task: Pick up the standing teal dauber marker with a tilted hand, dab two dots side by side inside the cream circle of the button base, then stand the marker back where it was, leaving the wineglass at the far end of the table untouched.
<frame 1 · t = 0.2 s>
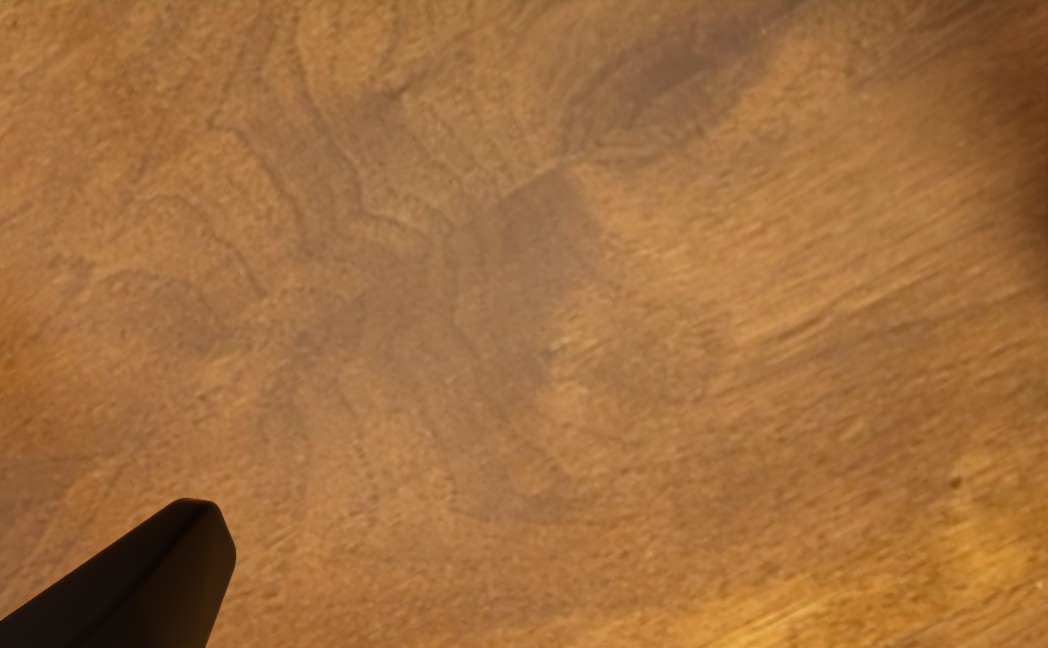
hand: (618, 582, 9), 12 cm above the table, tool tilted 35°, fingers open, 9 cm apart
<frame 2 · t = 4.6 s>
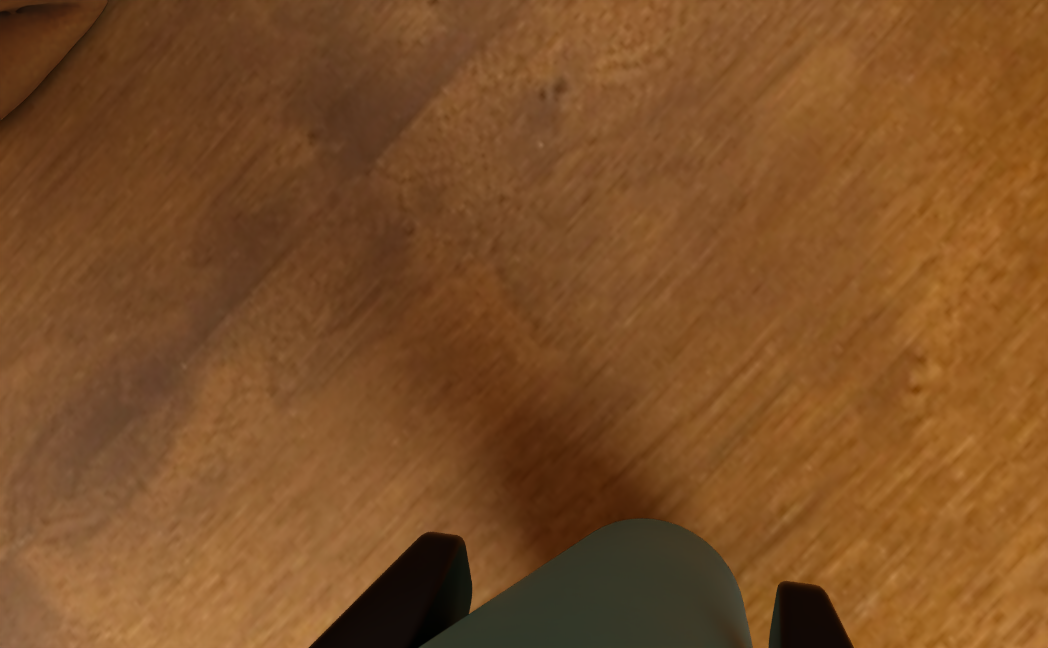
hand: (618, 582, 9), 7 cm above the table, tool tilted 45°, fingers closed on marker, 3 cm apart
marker: (650, 605, 16), on the table, touching gripper
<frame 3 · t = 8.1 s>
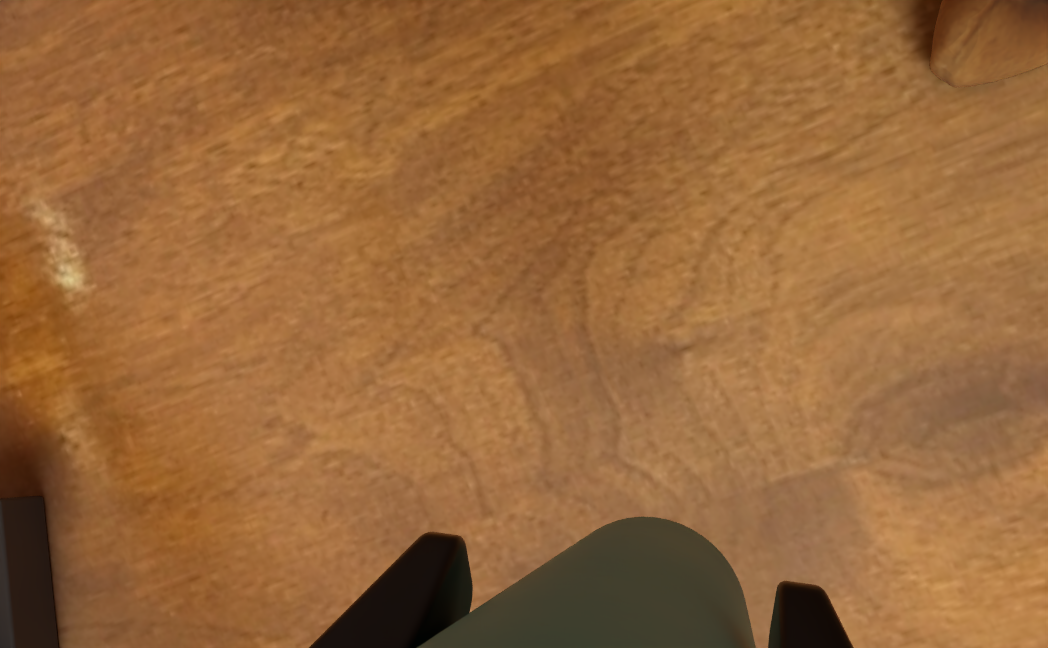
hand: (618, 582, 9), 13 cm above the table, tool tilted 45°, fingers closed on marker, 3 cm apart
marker: (652, 603, 16), point 5 cm above the table, touching gripper
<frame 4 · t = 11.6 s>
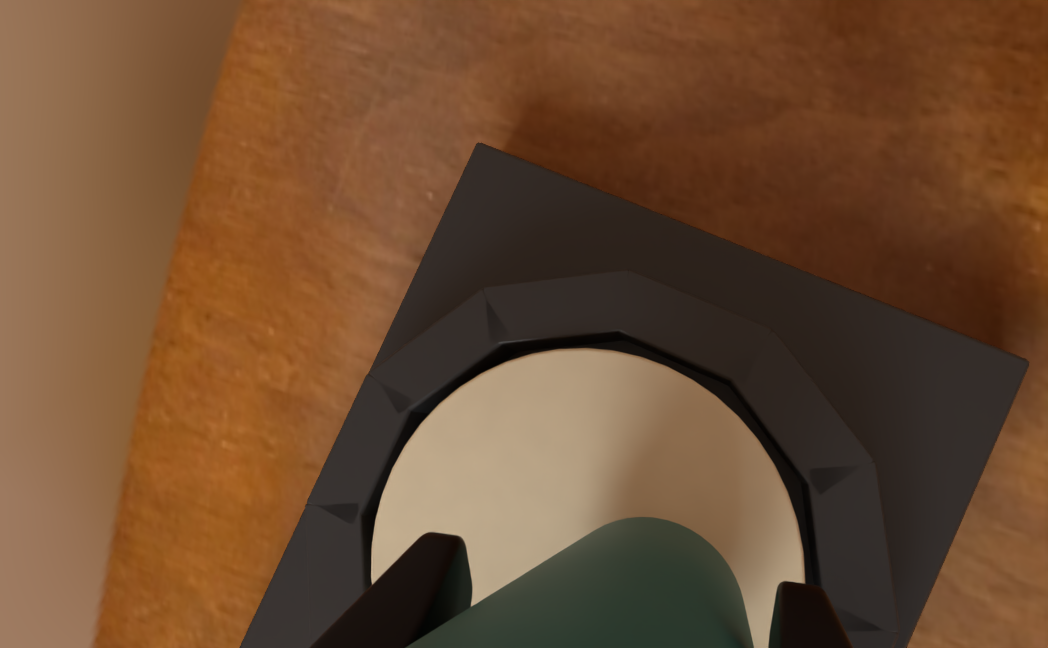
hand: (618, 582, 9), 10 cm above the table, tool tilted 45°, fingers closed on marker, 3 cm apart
button base: (599, 546, 19), on the table
pad disc: (581, 561, 17), point 3 cm above the table, slide at -0.5 cm, touching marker
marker: (650, 604, 16), point 3 cm above the table, touching gripper, pad disc
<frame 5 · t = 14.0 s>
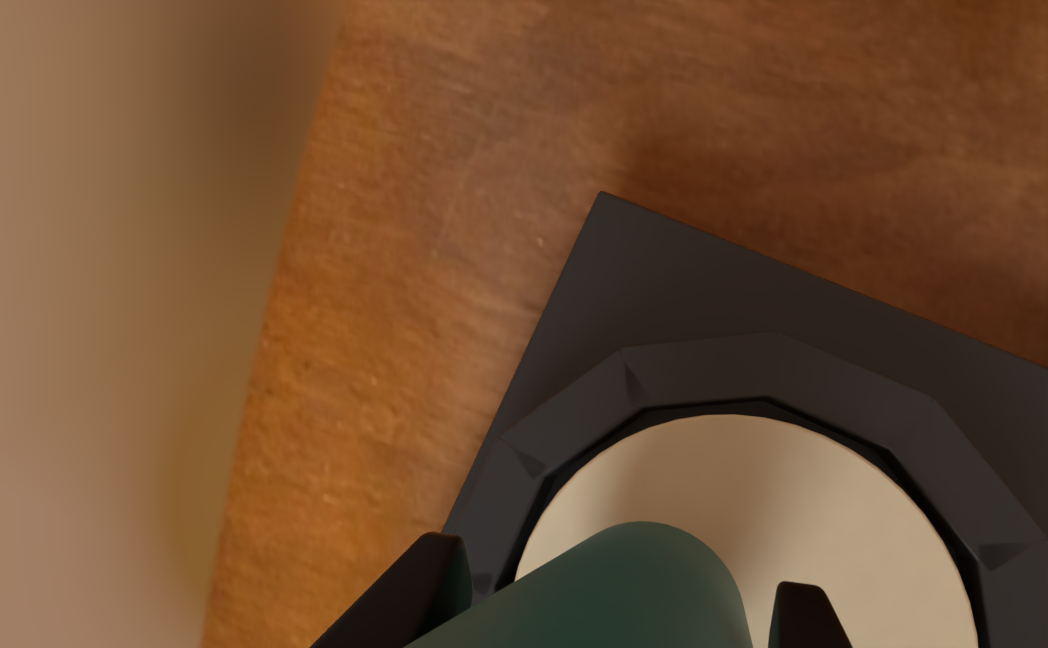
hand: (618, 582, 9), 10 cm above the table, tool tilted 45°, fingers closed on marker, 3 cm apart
button base: (727, 611, 19), on the table
pad disc: (730, 637, 16), point 3 cm above the table, slide at -0.5 cm, touching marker
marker: (650, 608, 16), point 3 cm above the table, touching gripper, pad disc
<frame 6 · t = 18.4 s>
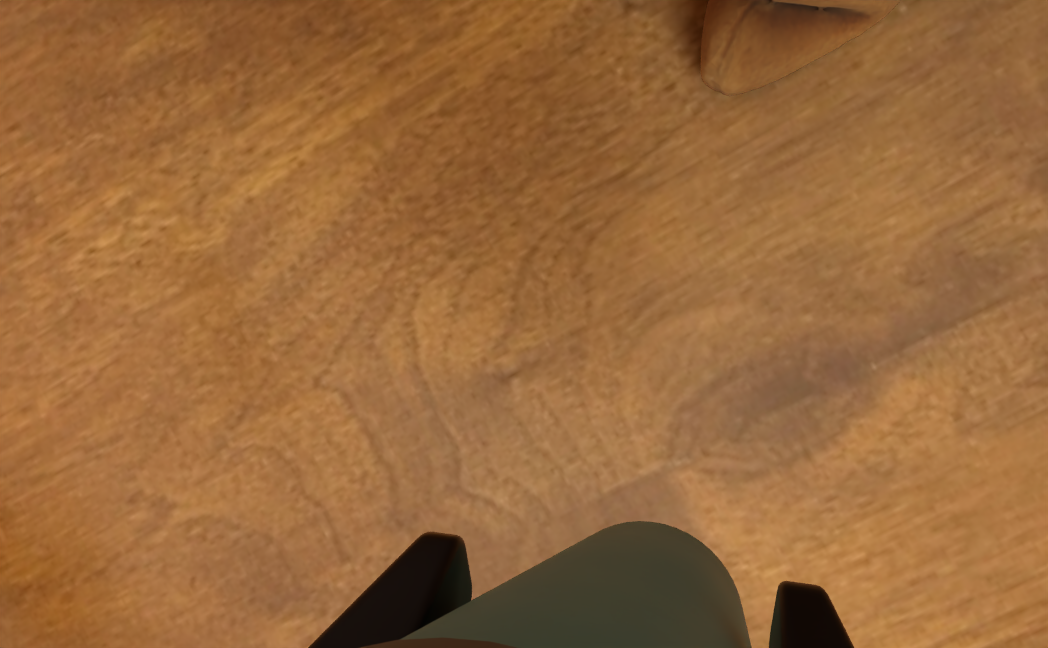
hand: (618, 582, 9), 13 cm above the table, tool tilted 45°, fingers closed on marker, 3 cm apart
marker: (649, 609, 16), point 5 cm above the table, touching gripper
when the fingers open (7 cm above the table, at t = 22.1 s): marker stays where it is, on the table.
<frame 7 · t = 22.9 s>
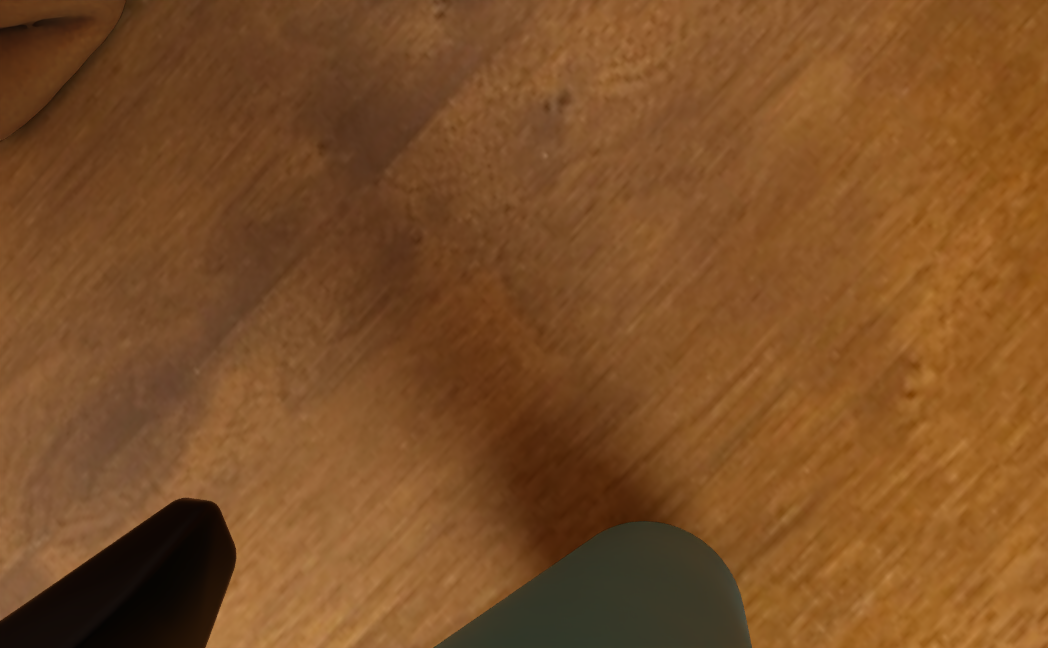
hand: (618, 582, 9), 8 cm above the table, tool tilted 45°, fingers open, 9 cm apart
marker: (652, 605, 16), on the table
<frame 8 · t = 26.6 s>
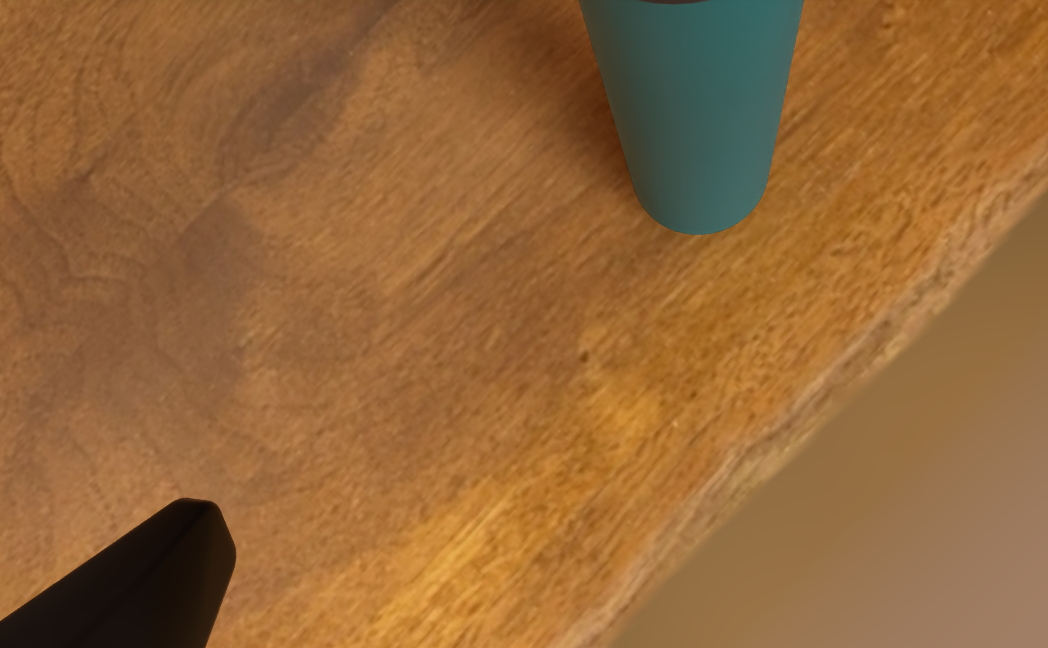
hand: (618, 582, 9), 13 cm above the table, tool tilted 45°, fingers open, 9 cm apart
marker: (700, 184, 22), on the table
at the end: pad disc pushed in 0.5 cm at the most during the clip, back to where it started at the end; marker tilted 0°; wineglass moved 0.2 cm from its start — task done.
